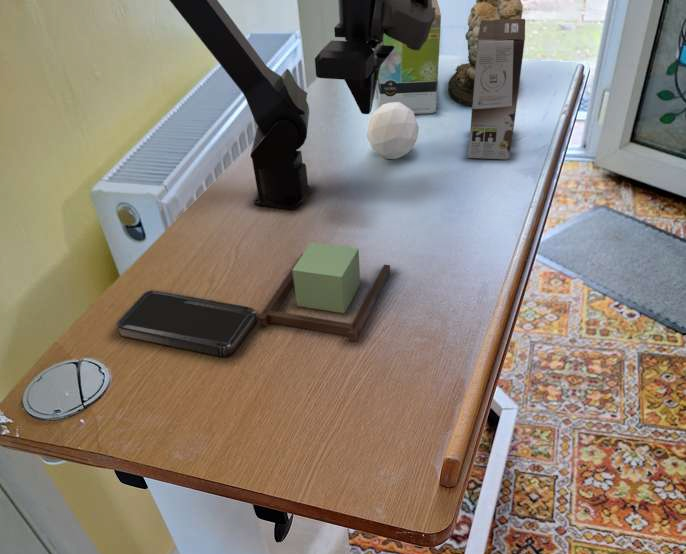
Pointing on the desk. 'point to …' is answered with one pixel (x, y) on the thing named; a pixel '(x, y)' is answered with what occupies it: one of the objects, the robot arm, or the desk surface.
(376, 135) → the geometric ball
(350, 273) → the block
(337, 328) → the bay
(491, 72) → the coffee box
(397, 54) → the tea box
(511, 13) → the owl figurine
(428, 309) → the desk surface
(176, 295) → the phone
